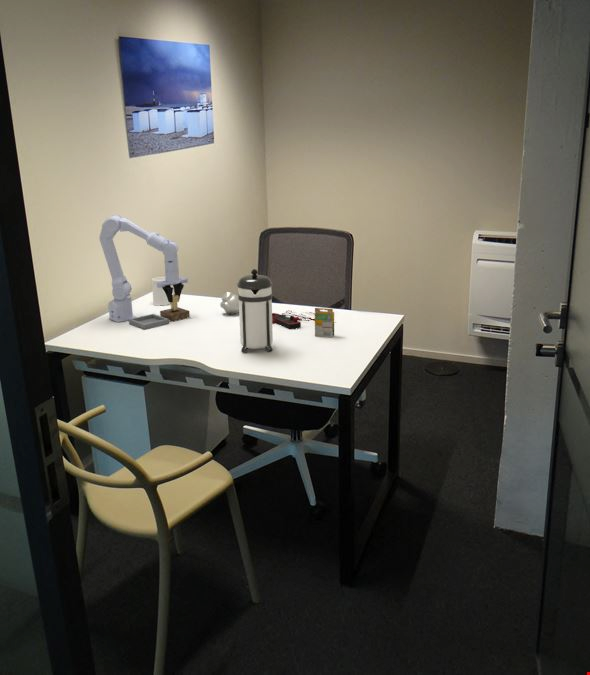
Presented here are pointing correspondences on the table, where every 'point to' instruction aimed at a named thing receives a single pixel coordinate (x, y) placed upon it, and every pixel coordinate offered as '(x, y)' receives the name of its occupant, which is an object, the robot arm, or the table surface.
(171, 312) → the block
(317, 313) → the crayon box
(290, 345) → the table surface
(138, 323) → the tray
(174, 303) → the pin
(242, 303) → the coffee press
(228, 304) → the white piggy bank
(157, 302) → the mug
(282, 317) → the digital clamp meter
